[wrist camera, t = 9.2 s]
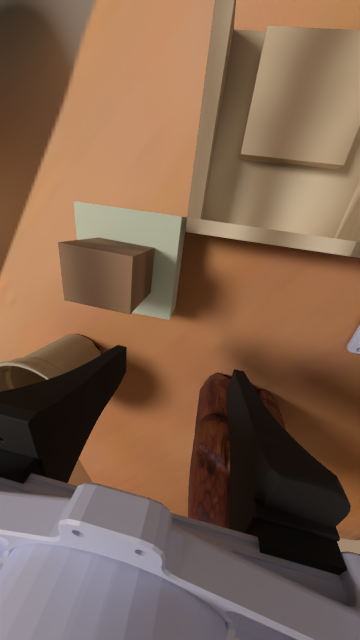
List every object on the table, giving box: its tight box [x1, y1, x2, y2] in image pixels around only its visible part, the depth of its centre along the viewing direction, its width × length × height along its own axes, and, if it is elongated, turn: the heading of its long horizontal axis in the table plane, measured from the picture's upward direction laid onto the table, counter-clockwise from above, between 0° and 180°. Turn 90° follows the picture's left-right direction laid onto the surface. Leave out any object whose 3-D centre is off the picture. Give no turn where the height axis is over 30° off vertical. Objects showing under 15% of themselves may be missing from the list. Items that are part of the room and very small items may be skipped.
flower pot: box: [0, 334, 101, 392], centre depth 24 cm, size 9×9×9 cm
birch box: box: [185, 0, 360, 258], centre depth 14 cm, size 13×12×4 cm
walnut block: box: [58, 237, 155, 314], centre depth 16 cm, size 5×4×5 cm
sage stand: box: [74, 201, 187, 320], centre depth 20 cm, size 9×9×3 cm
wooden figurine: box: [188, 373, 285, 529], centre depth 18 cm, size 12×6×18 cm, turn 65°
